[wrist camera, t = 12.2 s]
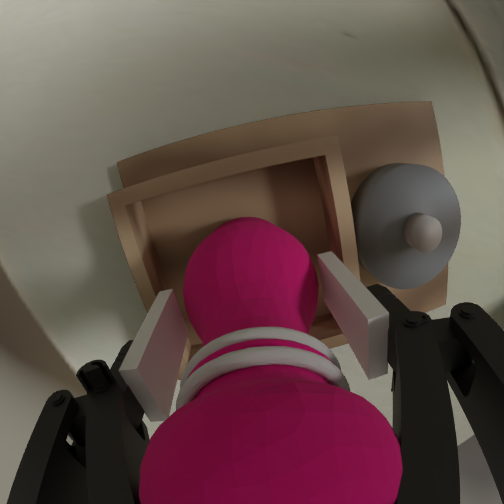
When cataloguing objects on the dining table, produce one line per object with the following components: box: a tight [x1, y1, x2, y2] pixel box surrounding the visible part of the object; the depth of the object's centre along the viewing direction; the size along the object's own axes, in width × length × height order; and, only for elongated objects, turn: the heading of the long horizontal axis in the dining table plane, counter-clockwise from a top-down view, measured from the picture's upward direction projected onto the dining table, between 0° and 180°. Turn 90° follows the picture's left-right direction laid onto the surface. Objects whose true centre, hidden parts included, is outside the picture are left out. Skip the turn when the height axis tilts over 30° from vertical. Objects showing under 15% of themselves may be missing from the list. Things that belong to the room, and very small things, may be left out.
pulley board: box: [107, 102, 461, 380], centre depth 19 cm, size 18×24×5 cm
